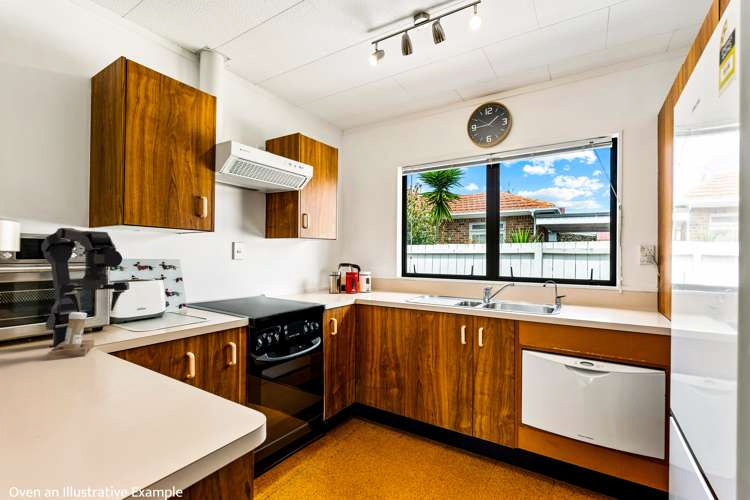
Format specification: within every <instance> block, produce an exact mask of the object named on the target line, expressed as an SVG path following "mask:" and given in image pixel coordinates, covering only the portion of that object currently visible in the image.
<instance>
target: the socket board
mask: <svg viewBox="0 0 750 500" xmlns="http://www.w3.org/2000/svg"><path fill="white" fill-rule="evenodd" d="M64 343H65V342H62V343H60V344H59V345H58V346H55V347H53V348H52V349H51V350H49V351H48V361H54V360H62V359H73V358H78V357H80V358H81V357H85V356H86V355H87V354H88V353H89V352H90V351H91V350H92V349H93V348H94V346H95V339H93V338H92V339H85V340H84V339H82V342H81V346H80V347H79V348H75V349H67V350H64V345H65V344H64Z"/></svg>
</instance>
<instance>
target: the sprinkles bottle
mask: <svg viewBox="0 0 750 500" xmlns="http://www.w3.org/2000/svg"><path fill="white" fill-rule="evenodd" d="M87 315H88V313H87V312H83V311H81V312H72V313H70V314H69V323H68V328H67V332H66V337H65V343H64V344H65V345H64V350H67V349H75V348H79V347H80V346H81V342H82V340H83V337H84V336H83V335H84V329H85V323H86V319H87V317H88V316H87Z"/></svg>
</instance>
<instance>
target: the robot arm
mask: <svg viewBox="0 0 750 500" xmlns="http://www.w3.org/2000/svg"><path fill="white" fill-rule="evenodd" d="M76 243H79V245H80V246H82V247H83V248H85V250H84V251H83V252H82V254H83V255H85V256H84V257H85V260H84V261H85V263H84V264H85V267H84V268H85V270H84V276H83V277H82V278H81V280H80V283H81V285H79V283H72V282H71V276H70V275H71V274H70V270H69V269H70V268H69V260H70V259H71V257H72V255H73V251H74V249H75V248H76V247H77V244H76ZM40 247H41V248H40V249H41V251H42V252H43V257H44V259H45V260H46V261H47V262H48V263H49V264H50V268H51V277H52V283H53V290H54V298H55V302H54V305H53V306H52V307H51V309H50V315H49V317H48V318H47V321H46V322H45V329H46V330H48V331H52V334H53V335H52V336H53V337H52V339H53V340H52V341H53V343H52V344H50V345H49V347H50V348H52V347H53V348H55V347H56V346H58V345H59V344H60V343H62V342H65V337H66V332H67V328H68V323H69V314H70V313H72V312H82V308H81V307H82V306H81V294H80V292H81V291H97V290H98V291H100V290H101V291H102V290H113V291H112V292H111V294H112V296H111V303H110V311H111V312H113V311H114V310H115V307H116V305H117V302H118V299H119V298H120V296H121V294H123V293H125V292H126V291H127V290H129V289H130V283H129V282H128V281H116V282H113V283H109V277H108V274H107V268H116V267H118V266H120V265H121V264H122V262H123V257H122V254H121V253H120V252H119V251H118V250H117V247H116V245H115V244H114V243H113V240H112V238H111V236H110V235H109V233H108V232H107V231H98V230H97V231H96V230H95V231H94V230H93V231H92V230H80V229H75V228H72V227H60V228H57V230H56V231H55V232H54V233H52V234H50V235H48V236H46V237H45V238H44V240H43V242H42V243H41V246H40ZM79 291H80V292H79Z"/></svg>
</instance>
